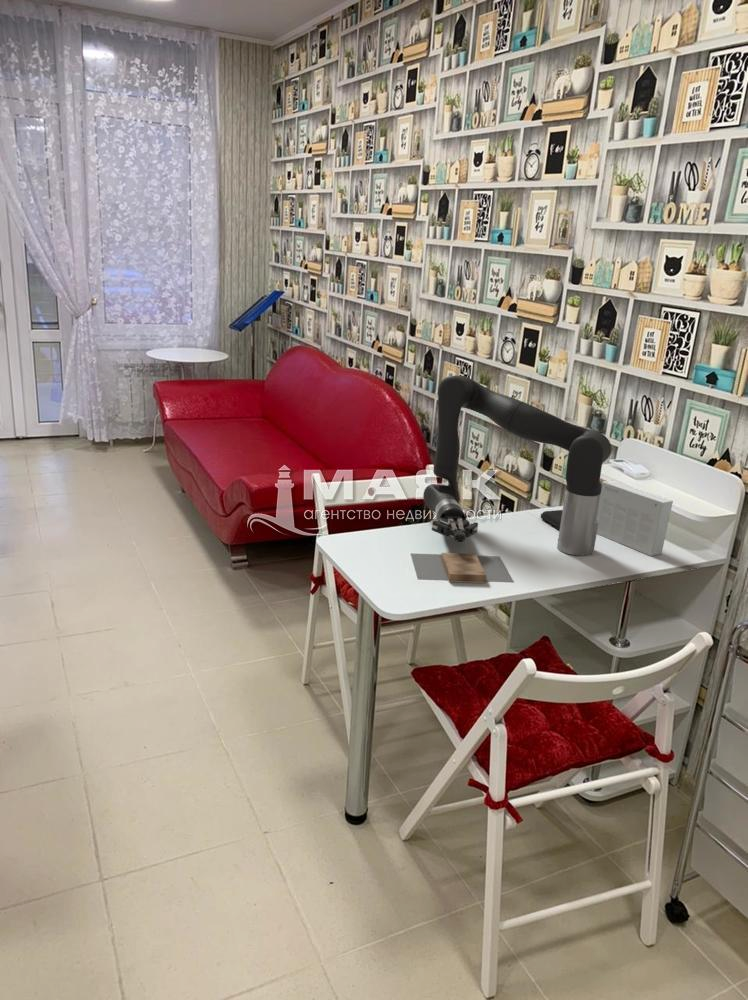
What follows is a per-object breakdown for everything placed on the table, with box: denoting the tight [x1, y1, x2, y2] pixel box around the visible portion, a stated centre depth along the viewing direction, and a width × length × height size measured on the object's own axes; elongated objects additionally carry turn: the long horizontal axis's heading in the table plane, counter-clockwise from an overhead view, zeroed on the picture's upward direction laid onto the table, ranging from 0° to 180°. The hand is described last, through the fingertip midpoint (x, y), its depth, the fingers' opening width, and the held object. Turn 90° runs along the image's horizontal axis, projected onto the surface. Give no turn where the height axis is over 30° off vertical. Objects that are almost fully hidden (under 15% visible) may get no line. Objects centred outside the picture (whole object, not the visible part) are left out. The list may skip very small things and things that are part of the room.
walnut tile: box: [441, 552, 486, 584], centre depth 189 cm, size 9×2×13 cm
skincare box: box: [596, 480, 674, 557], centre depth 216 cm, size 21×6×16 cm, turn 35°
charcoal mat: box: [410, 552, 515, 583], centre depth 192 cm, size 24×16×1 cm, turn 94°
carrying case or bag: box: [540, 509, 563, 531], centre depth 229 cm, size 11×3×15 cm
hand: (460, 538), depth 193 cm, fingers closed
